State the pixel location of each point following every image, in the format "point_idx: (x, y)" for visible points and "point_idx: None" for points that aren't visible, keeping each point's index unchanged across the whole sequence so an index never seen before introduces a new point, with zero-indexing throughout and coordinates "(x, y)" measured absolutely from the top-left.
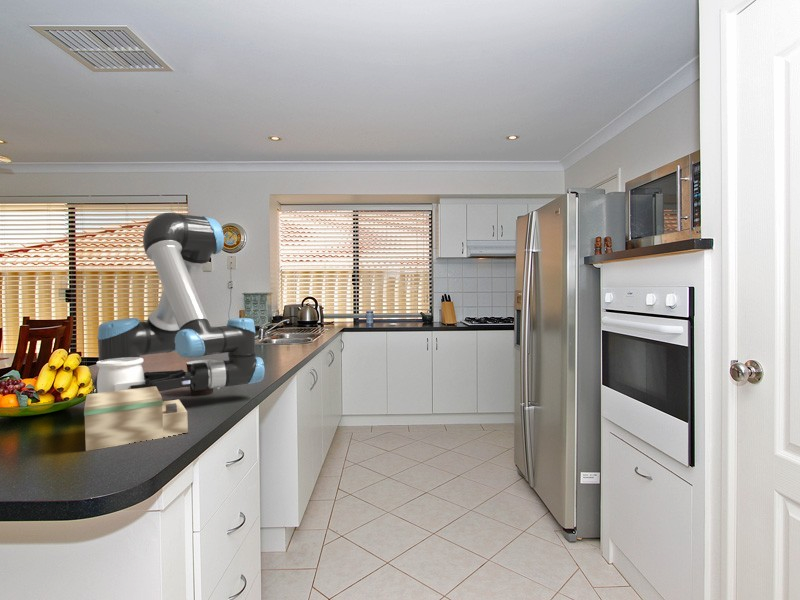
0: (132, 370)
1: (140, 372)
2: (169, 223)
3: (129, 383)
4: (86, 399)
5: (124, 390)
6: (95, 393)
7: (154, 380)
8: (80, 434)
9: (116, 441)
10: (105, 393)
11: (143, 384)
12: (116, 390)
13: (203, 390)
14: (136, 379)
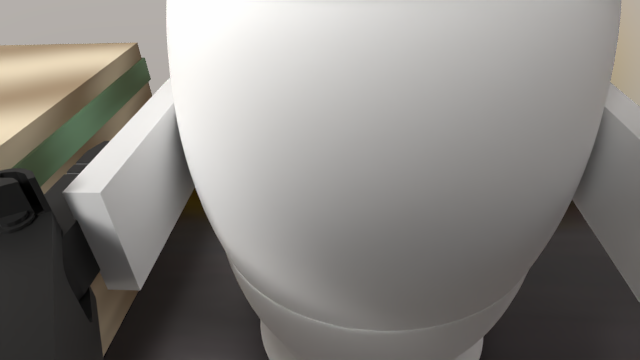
0: (173, 4)
1: (234, 84)
2: None
3: (140, 117)
4: (2, 46)
5: (10, 121)
6: (112, 55)
7: (13, 283)
8: (193, 192)
9: None
10: (52, 74)
11: (53, 205)
12: None
13: None
14: (191, 131)
